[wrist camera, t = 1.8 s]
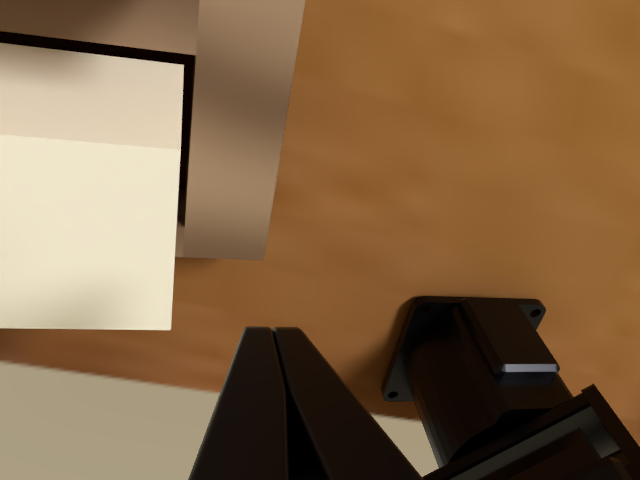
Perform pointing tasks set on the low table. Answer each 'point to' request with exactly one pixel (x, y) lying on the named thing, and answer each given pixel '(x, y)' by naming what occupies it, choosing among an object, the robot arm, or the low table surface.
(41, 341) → the low table surface
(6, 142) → the cream cube
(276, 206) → the low table surface
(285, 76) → the walnut board
